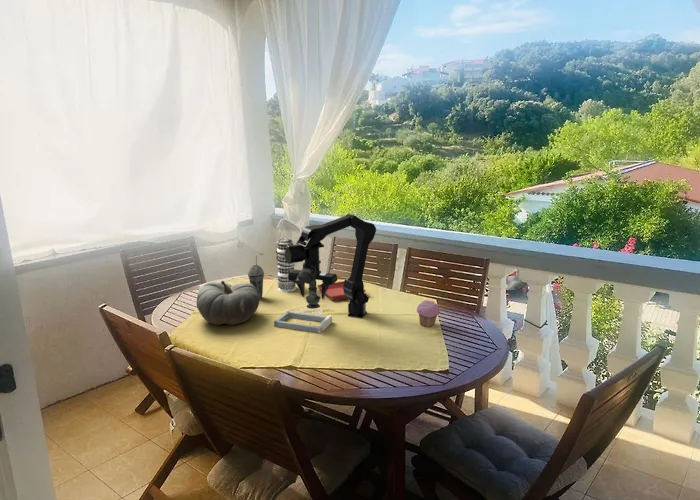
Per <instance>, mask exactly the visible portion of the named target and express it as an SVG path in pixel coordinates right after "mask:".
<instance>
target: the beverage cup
mask: <svg viewBox="0 0 700 500" xmlns="http://www.w3.org/2000/svg"><path fill="white" fill-rule="evenodd" d="M247 272H248V273H247V276H248V281H249V283H250V284H252V285H254V286H255V287H256V289H257V291H258V294H259V297H260V300H262V299H263V293H264V276H265V273H264V269H263V268H262V267H261V266H260V265H258V256H257V255H255V264H254V265H252V266H250V268H249V269H248V271H247Z"/></svg>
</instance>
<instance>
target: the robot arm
mask: <svg viewBox="0 0 700 500" xmlns="http://www.w3.org/2000/svg"><path fill="white" fill-rule="evenodd" d="M349 227H351V228H353V229H354V230H355V233H354V234H355V235H354V236H355V239H356V240H355V241H356V246H355V250H354V256H353V262H352V268H351V271H350V276H349V278H348V279H344V280H343V281H344V286H343V289H344V294H345V295H346V296H347V299H348V300H349V301H348V305H347V309H348V310H347V311H348V314H347V316H348V317H353V318H359V319H360V318H361V319H362V318H364V317H365V315H367V313H368V311H366V310H367V309H366V308H367V304H366V303H369V298H370V297H369V296H368V295H367V294H366V293H364V289H365V285H364V281H363V277H364V276H363V275H364V271H365V266H366V261H367V256H368V252H369V246H370V244H371V242H373V240H374V238H375V235H376V233H377V226H376V225H375V224H374V223H372V222H369V221H365V220H363V219H362V218H359V217H358V216H357V215H354V214H351V213H346V215H344V216H341V217H339V218H336V219H333V220H330V221H328V222H324V223H323V224H313V225H307V226H304V227H303V228H302V230H301V233H300V235H299V237H298V239H297V241H296V242H295V244H293V245H287V249H286V250H285V253H284V256H285V260H286V262H287V263H288V264H291V263H294V264H296V263H301V262H303V264H302V269H294V270H293V271H291V272H290V273H289V274H288V280H293V281H292V282H294V283H295V285H296V286H297V288H298V290H299V292H300V295H301V297H302V298H304V297H305V293H306V290H305V289H306V287H305V286H306V285H309V284H310V283H311V281H312V280H316V281H317V280H318V281H321V282H322V283H321V284H320V285H321V286H322V292H321V299H322V300H325V297H326V295H325V294H326V292H327V289H328V287H329V285H332V284H334V283H336V282H338V275H337V273H332V272H327V273H325V274H324V275H323V274H322V270H320V268H321V266H320V264H322V262H321V260H320V248H324V247H325V245H324V244H323V243H322V242H321V241H323V240H324V239H326V237H327V236H328V235H331V234H333V233H337V232H338V231H341V230H344V229H346V228H349Z"/></svg>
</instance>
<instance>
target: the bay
mask: <svg viewBox="0 0 700 500" xmlns="http://www.w3.org/2000/svg"><path fill="white" fill-rule="evenodd" d="M332 316H333V315H331V314H329V315H327V316H324V315H315V314H308V313H303V312H302V313H301V312H295V311H285V312H284V313H283V314H282V315H280V316H279V317H278V318H276V319H275V320H274V321H273V326H274V327H278V328H282V329H283V328H285V329H290V330H295V331H296V330H297V331H302V332H303V331H304V332H311V333H317V334H321V333H322V332H323V331H325V329H326V328H328V327H329V325H330V324H332V322H333V317H332ZM289 318H291V319H299V320H306V321H313V322H318V321H319V323H318V325H309V324H302V323H295V322H289V321H286V320H287V319H289Z"/></svg>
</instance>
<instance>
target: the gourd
mask: <svg viewBox="0 0 700 500" xmlns="http://www.w3.org/2000/svg"><path fill="white" fill-rule="evenodd" d="M260 300H261V299H260V297H259V294H258V291H257V289H256V287H255V286H254V285H252V284H250V282H238V283H236V284H232V285H231V284H230V283H226V282H225V280H221V281H209V282H205V284H203V286H202V287H201V288H200V289H199V291H198V292H197V295H196V307H197V310H198V312H199V314H200V315H201V317H202V318H203V319H204V320H205V321H206V322H208V323H209V324H213V325H218V326H220V325H223V324H227V325H229V326H230V325H231V326H234V325H238V324H242V323H244V322H246V321H249V319H250V318H251V317H253V315H255V313H256V312H257V310H258V308H259V305H260Z"/></svg>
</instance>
